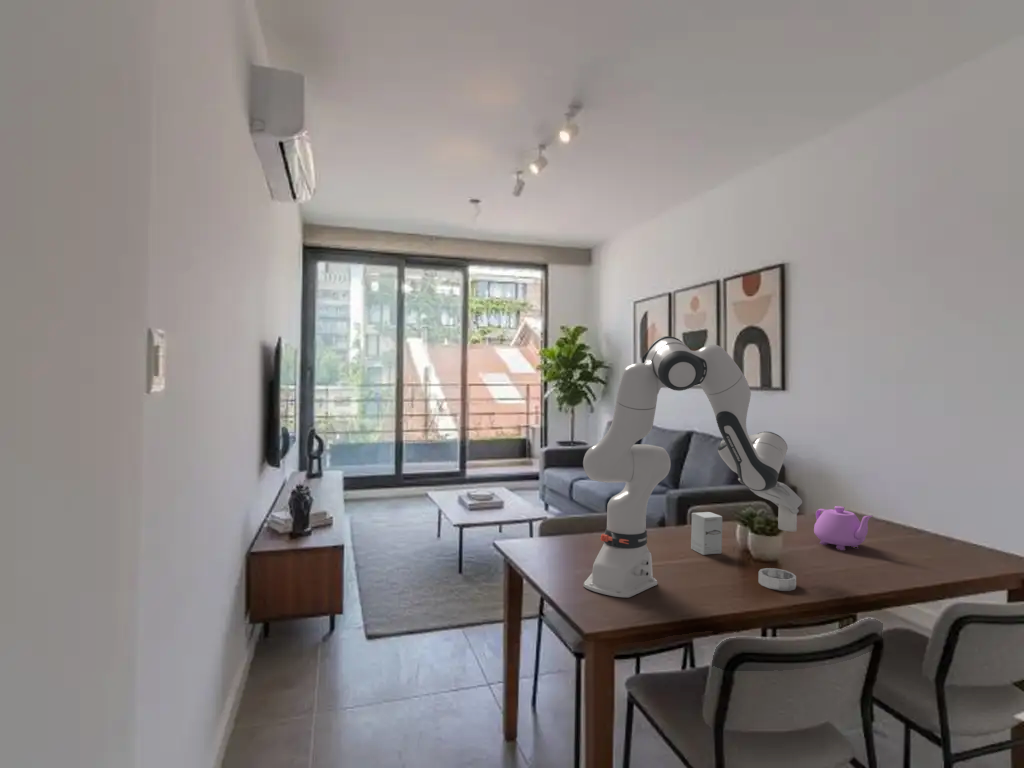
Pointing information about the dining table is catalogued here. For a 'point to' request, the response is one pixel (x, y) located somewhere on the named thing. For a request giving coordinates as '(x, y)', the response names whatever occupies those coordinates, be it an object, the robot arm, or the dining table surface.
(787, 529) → the white cylinder
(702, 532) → the supplement box
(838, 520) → the teapot
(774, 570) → the collar
